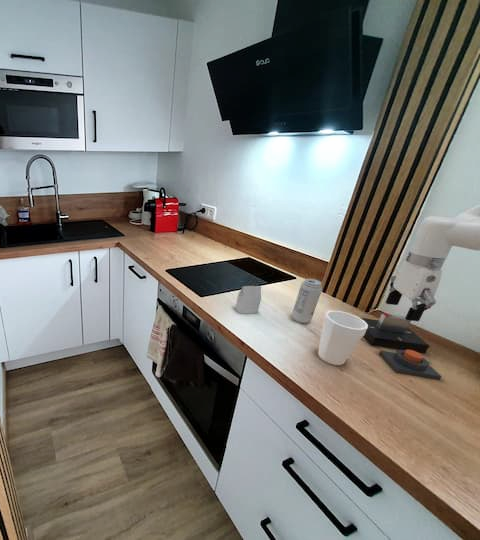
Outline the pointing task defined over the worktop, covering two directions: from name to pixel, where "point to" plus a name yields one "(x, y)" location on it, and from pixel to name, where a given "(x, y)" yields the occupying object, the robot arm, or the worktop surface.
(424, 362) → the button block
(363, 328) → the foam cup
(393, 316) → the lever
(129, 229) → the worktop surface
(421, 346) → the tap deck
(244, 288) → the grey tapered block
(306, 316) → the energy drink can
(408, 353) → the button
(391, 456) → the worktop surface
